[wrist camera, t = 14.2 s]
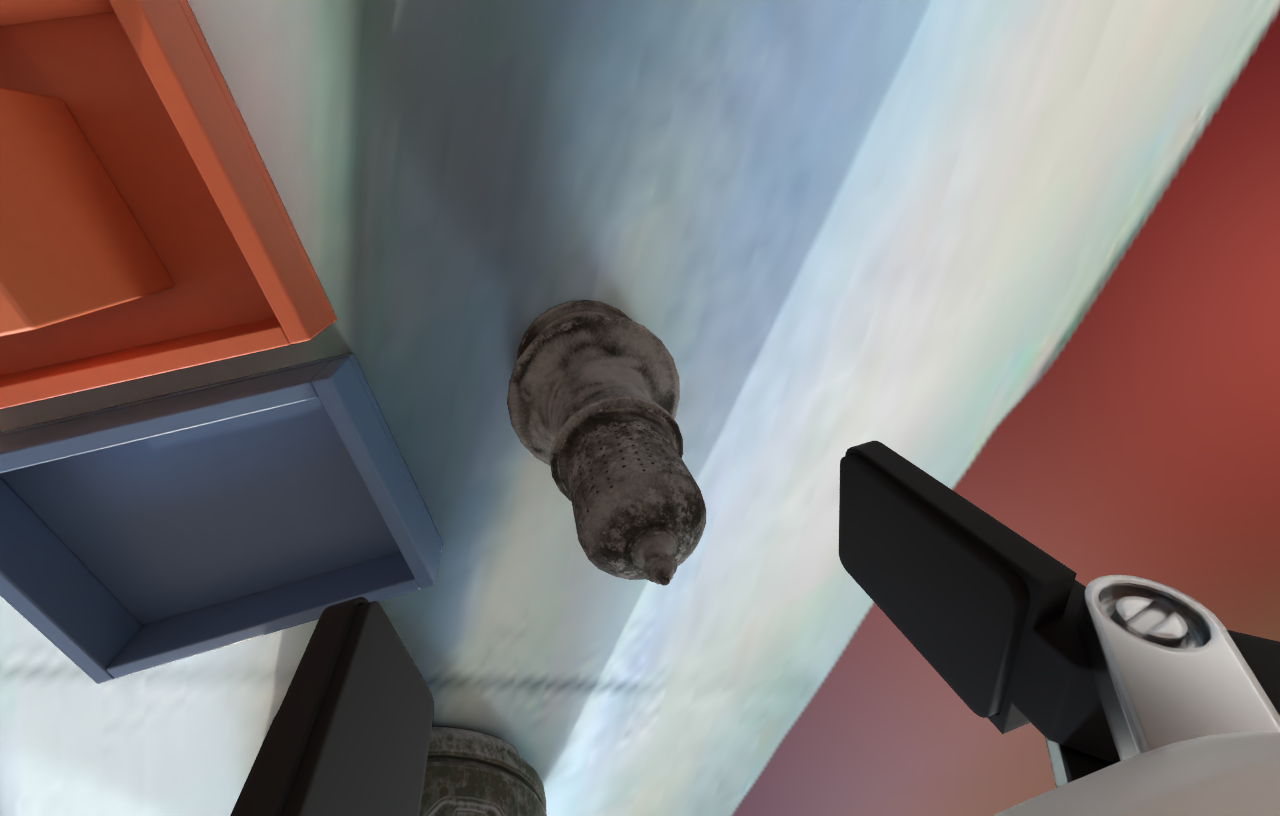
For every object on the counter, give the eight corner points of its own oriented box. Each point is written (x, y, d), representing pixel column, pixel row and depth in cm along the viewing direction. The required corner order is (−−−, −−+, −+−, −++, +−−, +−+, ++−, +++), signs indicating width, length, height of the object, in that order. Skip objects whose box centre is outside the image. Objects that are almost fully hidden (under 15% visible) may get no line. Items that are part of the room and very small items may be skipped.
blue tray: (353, 351, 17) (329, 376, 15) (443, 543, 21) (435, 585, 19) (-36, 440, 16) (-127, 482, 13) (143, 629, 20) (97, 685, 18)
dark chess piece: (487, 313, 18) (446, 506, 7) (640, 275, 18) (807, 400, 8) (533, 446, 20) (552, 730, 10) (665, 409, 21) (815, 636, 11)
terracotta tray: (178, -19, 13) (106, -62, 10) (338, 319, 17) (311, 340, 14) (-403, 53, 11) (-635, 20, 9) (-67, 408, 15) (-167, 446, 13)
